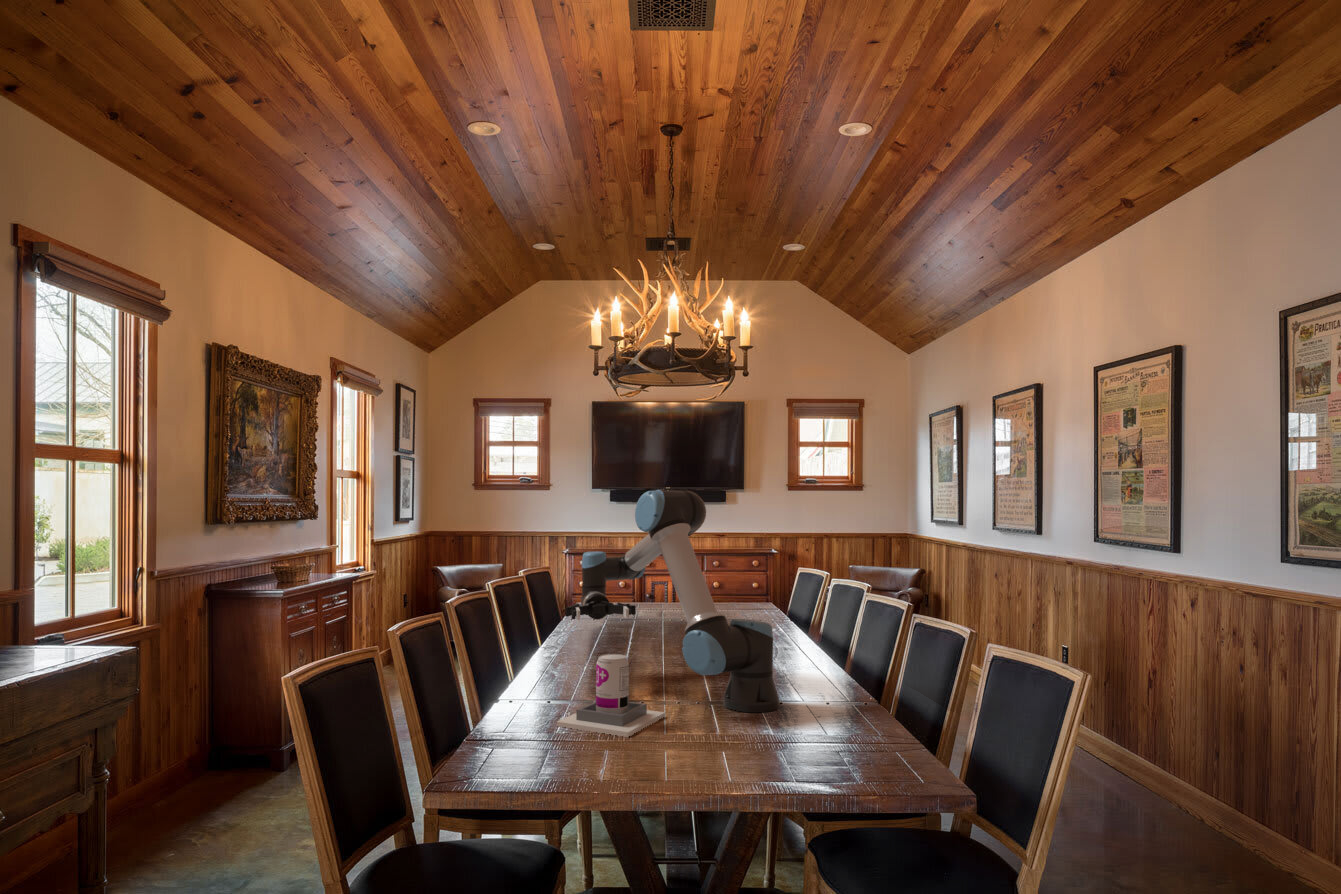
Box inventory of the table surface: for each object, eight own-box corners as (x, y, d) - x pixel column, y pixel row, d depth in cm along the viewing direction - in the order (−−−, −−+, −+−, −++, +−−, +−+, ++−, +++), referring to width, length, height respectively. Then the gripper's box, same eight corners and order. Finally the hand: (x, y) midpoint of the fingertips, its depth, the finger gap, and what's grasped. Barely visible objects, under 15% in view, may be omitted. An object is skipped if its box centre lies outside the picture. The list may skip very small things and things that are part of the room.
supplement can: (603, 722, 203) (604, 660, 204) (590, 714, 211) (591, 655, 212) (633, 718, 207) (634, 658, 208) (620, 711, 214) (620, 652, 215)
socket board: (664, 717, 213) (665, 702, 214) (627, 737, 195) (628, 721, 196) (598, 707, 222) (598, 693, 222) (556, 726, 204) (556, 711, 204)
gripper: (637, 616, 253) (647, 626, 232) (555, 619, 249) (558, 629, 228) (637, 592, 254) (647, 599, 233) (555, 593, 249) (558, 602, 228)
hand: (603, 614), depth 230 cm, fingers open, 13 cm apart
